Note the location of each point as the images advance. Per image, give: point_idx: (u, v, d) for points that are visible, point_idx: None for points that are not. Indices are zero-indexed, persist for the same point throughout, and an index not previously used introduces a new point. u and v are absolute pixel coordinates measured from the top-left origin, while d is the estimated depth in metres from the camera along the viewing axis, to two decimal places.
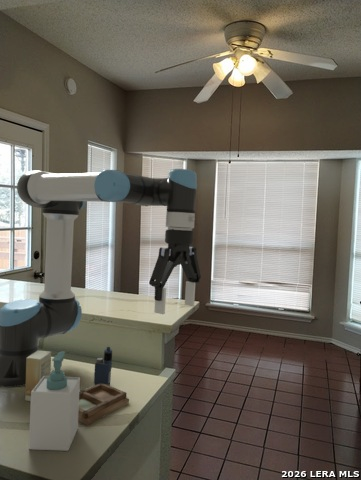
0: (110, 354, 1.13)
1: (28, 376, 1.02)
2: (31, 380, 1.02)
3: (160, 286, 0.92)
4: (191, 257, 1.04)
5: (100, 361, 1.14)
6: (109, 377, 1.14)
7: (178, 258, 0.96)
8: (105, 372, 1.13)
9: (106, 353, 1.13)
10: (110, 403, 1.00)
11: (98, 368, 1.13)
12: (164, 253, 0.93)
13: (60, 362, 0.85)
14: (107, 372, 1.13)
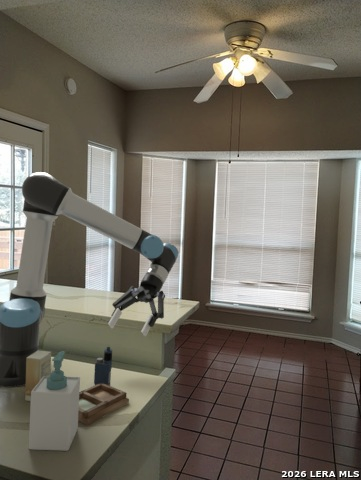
0: (110, 354, 1.13)
1: (28, 376, 1.02)
2: (31, 380, 1.02)
3: None
4: None
5: (100, 361, 1.14)
6: (109, 377, 1.14)
7: (137, 292, 1.31)
8: (105, 372, 1.13)
9: (106, 353, 1.13)
10: (110, 403, 1.00)
11: (98, 368, 1.13)
12: None
13: (60, 362, 0.85)
14: (107, 372, 1.13)
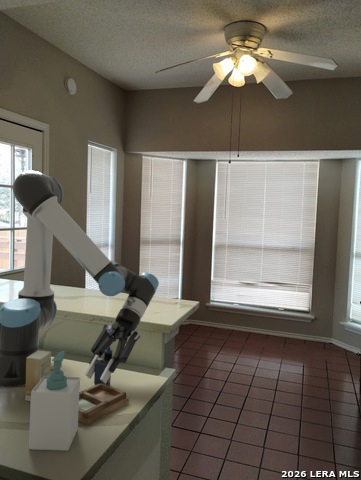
0: (110, 354, 1.13)
1: (28, 376, 1.02)
2: (31, 380, 1.02)
3: (94, 353, 1.17)
4: None
5: (100, 361, 1.14)
6: (109, 377, 1.14)
7: (113, 330, 1.20)
8: None
9: (106, 353, 1.13)
10: (110, 403, 1.00)
11: (98, 368, 1.13)
12: None
13: (60, 362, 0.84)
14: None
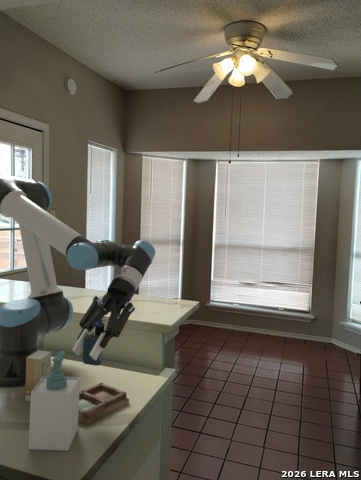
0: (102, 328, 0.99)
1: (28, 376, 1.02)
2: (31, 380, 1.02)
3: (83, 327, 1.03)
4: None
5: (90, 335, 1.00)
6: (100, 354, 1.00)
7: (104, 301, 1.06)
8: None
9: (97, 326, 0.99)
10: (110, 403, 1.00)
11: (88, 343, 0.99)
12: None
13: (60, 362, 0.84)
14: None
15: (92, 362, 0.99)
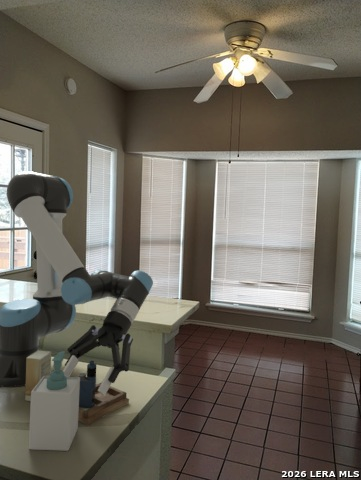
0: (94, 369, 0.98)
1: (28, 376, 1.02)
2: (31, 380, 1.02)
3: None
4: None
5: (82, 377, 0.98)
6: (93, 396, 0.99)
7: (98, 334, 1.05)
8: (88, 390, 0.98)
9: (89, 368, 0.97)
10: (110, 403, 1.00)
11: (80, 386, 0.98)
12: None
13: (60, 362, 0.84)
14: (90, 390, 0.98)
15: (85, 405, 0.98)
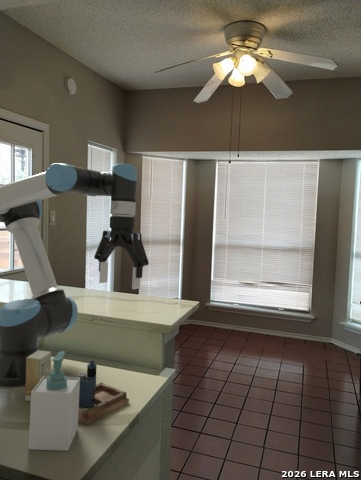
0: (94, 369, 0.98)
1: (28, 376, 1.02)
2: (31, 380, 1.02)
3: None
4: None
5: (82, 378, 0.98)
6: (93, 396, 0.99)
7: (111, 240, 1.14)
8: (88, 390, 0.98)
9: (89, 368, 0.97)
10: (110, 403, 1.00)
11: (80, 386, 0.98)
12: None
13: (60, 362, 0.84)
14: (91, 390, 0.98)
15: (85, 405, 0.98)
